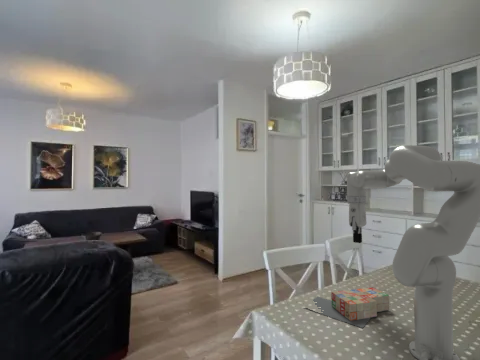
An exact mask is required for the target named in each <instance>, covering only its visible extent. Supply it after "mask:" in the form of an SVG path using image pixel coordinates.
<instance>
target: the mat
mask: <svg viewBox="0 0 480 360" xmlns="http://www.w3.org/2000/svg"><path fill="white" fill-rule="evenodd" d="M312 300H313V301H314V302H317V303H315V305H317V307H321V308H318V309H321V312H323V313H321V314H320V315H322V314H324V315H323V316H325V315H326V316H325V317H328V316H329V317H328V318H331V317H332V318H331V319H334V318H335V319H334V320H337V319H338V321H339V320H341V321H340V322H342V321H344V322H343V323H345V322H347V323H346V324H348V323H349V324H348V325H351V324H352V325H351V326H354V325H355V327H357V326H358V328H360V327H361V328H360V329H364V328H363V327H365V326H366V325H367V324H368V322H369V321H370V320H371V319H372V317H370V318H365V319H359V320H351V321H350V320H349V319H347V318H346V317H345V316H343V315H342V314H341V313H340V312H339V311H337V310H336V309H335V308H333V307H332V299H328V298H327V299H326V298H324V297H320V296H316V297H315V298H314V299H312ZM322 310H324V311H322Z"/></svg>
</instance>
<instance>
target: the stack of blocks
mask: <svg viewBox="0 0 480 360" xmlns="http://www.w3.org/2000/svg"><path fill="white" fill-rule="evenodd" d="M330 295H331V299H330V300H331V301H332V307H333V308H335V309H336V310H337V311H339V312H340V313H341V314H342V315H343V316H345V317H346V318H347V319H349V320H350V321H351V320H359V319H365V318H370V317H371V318H375V317H378V316H377V315H378V313H379V312H385V311H389V310H390V295H389V294H387V293H386V292H383V291H381V290H379V289H377V288H375V287H364V288H363V287H362V288H355V289H350V290H338V291H337V290H336V291H331V294H330ZM371 318H370V319H371Z"/></svg>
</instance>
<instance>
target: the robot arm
mask: <svg viewBox="0 0 480 360" xmlns="http://www.w3.org/2000/svg"><path fill="white" fill-rule="evenodd" d="M403 180H407V181H409V182H410V183H412V184H414V185H416V187H419V188H421V189H422V190H425V191H428V192H436V193H437V192H454V193H453V194H452V195H451V196H450V197H449V198H448V199H447V200H445V202H444V203H443V204H442V205H441V207H440V210H439V211H438V214H437V216H436V218H435V219H434V220H433V221H431V222H427V223H426V222H425V223H423V222H422V223H416V224H414V225H411V226H410V227H408V229H406V231H405V232H403V235H402V237H401V240H400V242H399V244H398V248H397V250H396V252H395V254H394V257H393V261H392V264H391V265H392V266H391V268H392V273H393V276H394V278H395V279H396V281H397V282H398V283H400V284H401V285H403V286H406V287H410V288H412V287H413V288H414V287H415V288H414V292H413V293H414V294H413V309H414V310H413V314H414V315H413V316H414V319H413V320H414V321H413V325H414V340H412V341H410V342H409V344H408V350H409V352H410V353H411V355H412V356H413V357H415V359H417V360H461V358H460V356H459V355H458V354H457V353H456V352H454V331H453V330H454V325H453V323H454V319H453V299H454V298H453V297H454V295H453V294H454V293H453V292H454V287H455V284H456V283H455V282H456V278H457V269H456V265H455V263H454V261H453V259H452V258H450V257H451V256H452V257H453V256H456V255H459V254H460V253H462V251H463V250H464V249H465V247H466V245H467V243H468V241H469V239H470V238H471V236H472V234H473V232H474V231H475V229H476V226H477V224H478V222H479V220H480V164H479V163H476V162H472V161H466V160H442V157H441V153H440V151H438V150H437V149H436V148H434V147H433V146H428V145H412V144H411V145H410V144H406V145H405V144H404V145H401V146H400V145H399V146H398V147H395V148H394V149H393V150H392V152H391V153H390V155H389V158H388V160H386V162H385V164H384V169H381V170H379V169H378V170H374V169H373V170H372V169H371V170H366V169H365V170H364V169H363V170H358V171H350V172H348V173H347V175H346V192H347V193H346V194H347V195H346V197H347V199H346V202H347V204H348V205H349V206H348V207H349V208H348V224H349V227H351V230H352V242H353V243H355V244H361V243H363V233H362V232H363V227H365V226H366V225H367V211H366V205H365V204H367V190H370V189H371V190H373V189H375V190H376V189H378V190H379V189H387V188H391V187H394V186H396V185H399V184H401V183H402V182H403Z"/></svg>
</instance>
